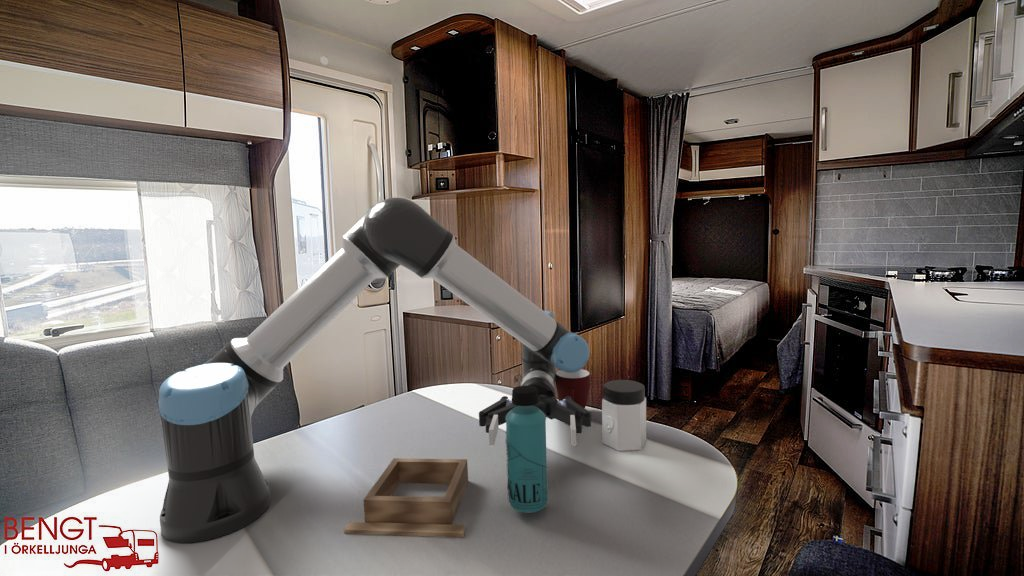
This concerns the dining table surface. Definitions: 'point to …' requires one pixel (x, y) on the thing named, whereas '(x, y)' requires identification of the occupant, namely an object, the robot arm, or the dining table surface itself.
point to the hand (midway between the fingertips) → (532, 437)
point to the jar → (624, 415)
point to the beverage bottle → (526, 452)
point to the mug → (573, 386)
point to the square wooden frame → (414, 500)
